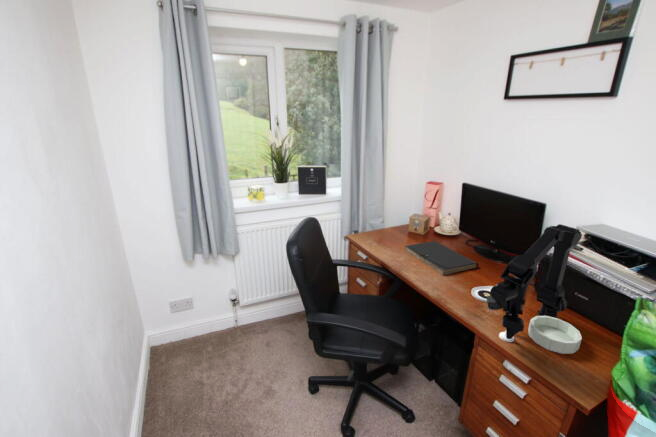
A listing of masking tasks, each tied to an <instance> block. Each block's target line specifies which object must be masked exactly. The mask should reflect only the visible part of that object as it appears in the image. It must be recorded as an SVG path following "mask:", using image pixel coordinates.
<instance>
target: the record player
mask: <svg viewBox="0 0 656 437" xmlns="http://www.w3.org/2000/svg"><path fill="white" fill-rule="evenodd" d="M497 285H498V283H496V284H495V285H482V286H475V287H473V288H471V292H470V293H471V296H472V297H474V299H476V300H478V301H480V302H483V303H487V296H491V289H492V287H494V286H497Z"/></svg>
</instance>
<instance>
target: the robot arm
mask: <svg viewBox="0 0 656 437" xmlns="http://www.w3.org/2000/svg"><path fill="white" fill-rule="evenodd" d="M582 235H583V234H582V232H581V231H580V229H578V228H575V227H572V226H568V225H565V224H557V225H550V226H547V227H546V228H545V229H544V231H543V233H542V234H541V235H540V237H538V239H537V240H536V241H535V242H534V243H533V244H532V245H531V247H529V248H528V249H527V251H525V253H523V254H519V255H517V256H515V257H514V258H513V259H511V260H510V261H509V262H508V264H507V266H505V269H504V270H503V271H502V273H501V275H500V276H499V277H500V279H503V281H500V282H498V283H497V284H498V285H497V286H495V285H493V286H494V287H492V289H491V296H487V302H486V303H487V308H488V309H489V310H491V311H499V310H502V311H503V312H505V314H503V315H502V321H501V326H502V327H503V328H505V331H506V336H507V339H511V338H512V337H514V336H516V335H517V334H518V333H519V332H524V329H525V323H524V320H523V319H522V318H521V317H519V315H521V316H523V314H524V313H523V309H524V305H525V304H526V294H527V290H528V286H529V284H530V283H532V280H533V279H534V278H535V276H536V273H537V272H538V265H539V263H540V262H541V261H542V259H544V258H545V256H546V255H547V254H548V253H549V252H550V251H551V250H552V249H553V252H552V255H551V260H550V264H549V268H548V272H547V276H546V281H545V282H544V283H543V284H541V285H539V286H538V289H537V291H536V302H539V303H541V306H540V310H539V309H537V316H549V317H554V318H558V315H559V312H564V311H565V310H566V308H567V305H568V301H567V300H566V298H565V293H566V292H565V289H564V287H563V285H562V283H563V279H564V275H565V272H566V268H567V264H568V261H569V257H570V254H571V250H573V248H575V247H577V245H578V244H579V242H580V241H581V239H582Z"/></svg>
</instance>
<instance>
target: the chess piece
mask: <svg viewBox="0 0 656 437" xmlns="http://www.w3.org/2000/svg"><path fill="white" fill-rule="evenodd" d="M498 337H499V338H500V339H501V340H502V341H503V342H505V343H513V342H515V337H514V336H513V337H512V338H511V339H507V336H506V330H505V331H501V332H499V334H498Z"/></svg>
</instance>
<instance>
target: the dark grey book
mask: <svg viewBox="0 0 656 437" xmlns="http://www.w3.org/2000/svg"><path fill="white" fill-rule="evenodd" d="M405 252H407V253H408V254H410V255H411V256H413V257H414V258H416V259H418V260H419V261H421V262H422V263H423V264H425V265H426V266H429V267H431V268H432V269H433V270H435V271H436V272H438V273H439V274H441V276H446V275H451V274H454V273H458V272H462V271H467V270H470V269H475V268H478V266H479V263H478V262H476V261H474V260H472V259H470V258H468V257H467V256H465V255H462V254H461V253H459V252H457V251H455V250H453V249H451V248H449V247H447V246H446V245H444V244H442V243H440V242H439V241H436V240H433V241H431V240H430V241H427V242H426V241H425V242H420V243H414V244H411V245H410V244H409V245H405Z"/></svg>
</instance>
